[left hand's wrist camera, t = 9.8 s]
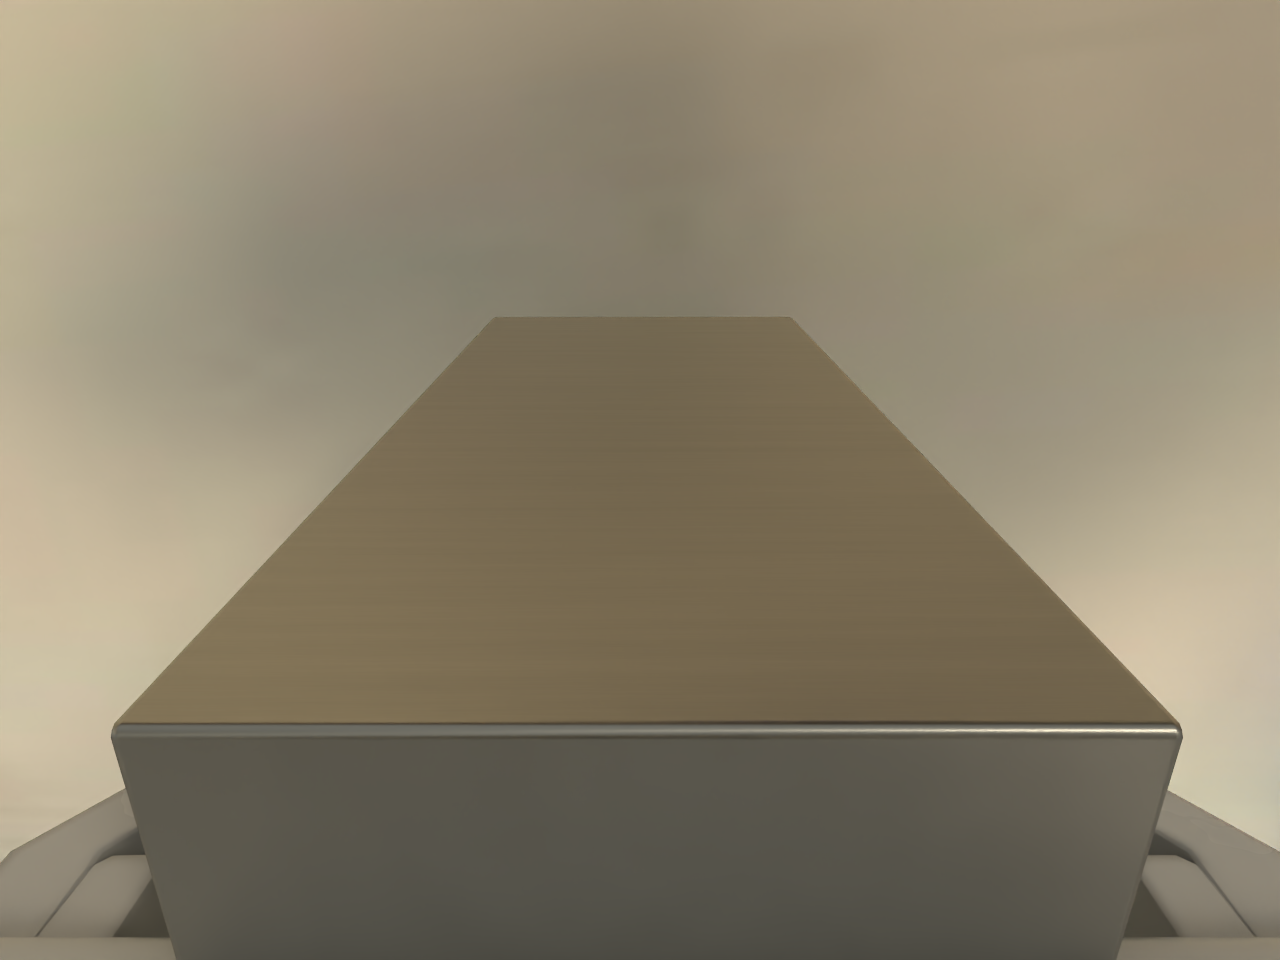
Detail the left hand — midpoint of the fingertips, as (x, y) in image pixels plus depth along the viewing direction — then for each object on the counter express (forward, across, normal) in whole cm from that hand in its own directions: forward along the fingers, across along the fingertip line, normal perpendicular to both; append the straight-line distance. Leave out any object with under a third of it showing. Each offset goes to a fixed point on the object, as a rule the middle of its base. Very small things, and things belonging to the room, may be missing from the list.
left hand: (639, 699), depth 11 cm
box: (+7, 0, +7) cm, 10 cm away
